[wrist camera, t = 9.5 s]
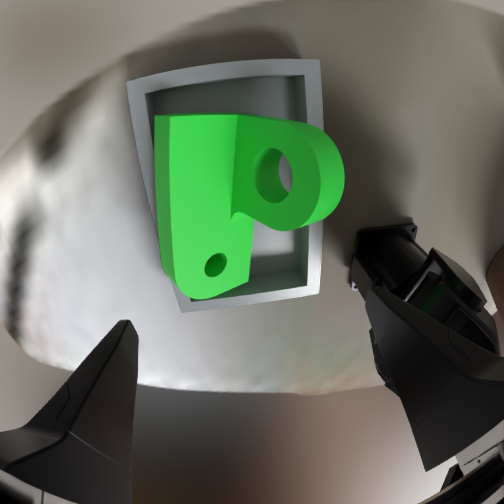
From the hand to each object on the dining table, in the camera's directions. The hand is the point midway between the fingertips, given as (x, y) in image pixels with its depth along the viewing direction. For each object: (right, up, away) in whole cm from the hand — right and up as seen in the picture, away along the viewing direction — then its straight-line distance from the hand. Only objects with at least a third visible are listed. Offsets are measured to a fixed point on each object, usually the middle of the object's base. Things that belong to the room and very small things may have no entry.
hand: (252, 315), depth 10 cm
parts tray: (-1, +7, +10) cm, 12 cm away
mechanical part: (-3, +5, +8) cm, 10 cm away
